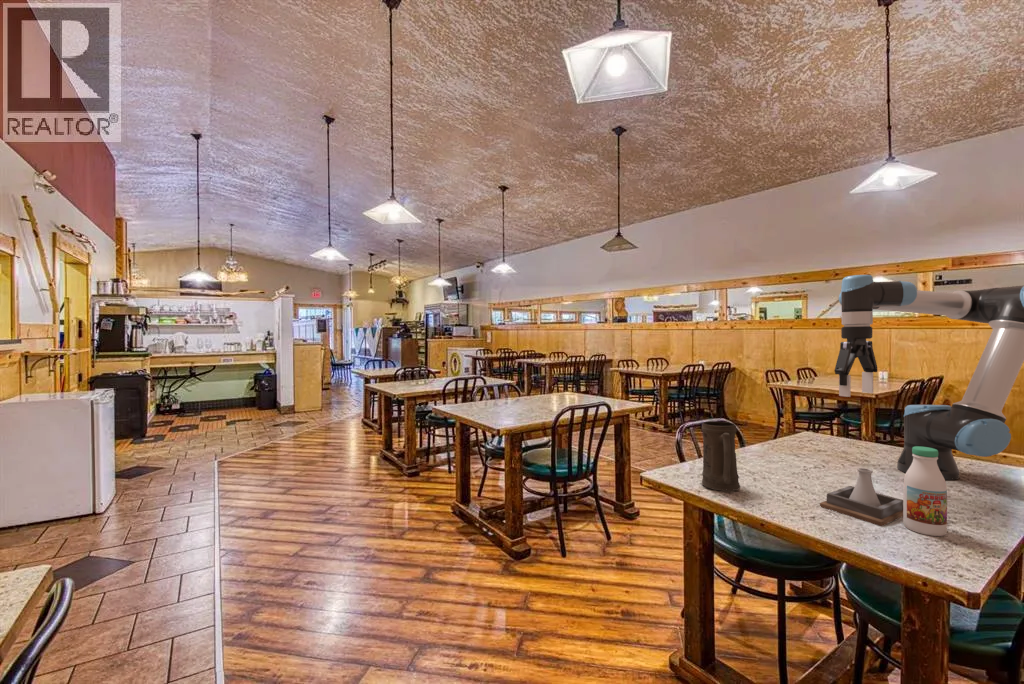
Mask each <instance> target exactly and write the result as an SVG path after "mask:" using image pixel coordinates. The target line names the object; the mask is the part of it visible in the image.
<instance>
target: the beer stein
mask: <svg viewBox="0 0 1024 684" xmlns="http://www.w3.org/2000/svg"><path fill="white" fill-rule="evenodd" d="M701 425H702V426H701V430H702V436H703V437H702V443H703V446H702V447H703V448H702V451H703V452H702V459H703V461H702V473H701V475H702V480H701V484H702V485H703V486H704V487H705V488H708V489H710V490H716V491H725V492H728V491H730V492H733V491H737V490H740V488H741V486H740V485H741V484H740V482H739V478H740V476H739V474H738V466H737V453H736V433H737V431H738V429H737V425H736V424H735V423H733V422H727V421H703V422H702V423H701Z"/></svg>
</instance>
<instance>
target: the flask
mask: <svg viewBox="0 0 1024 684" xmlns="http://www.w3.org/2000/svg"><path fill="white" fill-rule="evenodd" d="M857 471H858V477H857V481H856V484H855V485H854V486H853V487H854V490H853V492H852V493H851V495H850V497H849V499H852V500H855V501H858V502H862V503H865V504H869V505H872V506H876V507H879V506H881V504H880V502H879V500H878V497H877V495H876V493H877V492H876V490H875V488H874V484H873V480H872V474H873V473H874V472H873V469H870V468H866V467H857Z"/></svg>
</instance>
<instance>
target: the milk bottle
mask: <svg viewBox="0 0 1024 684" xmlns="http://www.w3.org/2000/svg"><path fill="white" fill-rule="evenodd" d="M912 453H913V454H912V456H913V462H912V464H911V466H910V467H909V469H908V470H907V472H906V473H905V474H904V479H903V490H902V492H903V495H902V496H903V497H902V498H903V499H902V500H903V517H902V518H903V519H902V521H903V526H904V527H905V528H906V529H907V530H911V531H913V532H915V533H917V534H918V533H919V534H922V535H926V536H933V537H934V536H935V537H943V536H945V535H947V531H948V489H947V482H946V480H945V479H944V477H943V475H942V473H941V472H940V470H939V467H938V465H937V459H938V450H936V449H933V448H929V447H921V446H915V447H913V448H912Z"/></svg>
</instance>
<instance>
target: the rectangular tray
mask: <svg viewBox="0 0 1024 684" xmlns="http://www.w3.org/2000/svg"><path fill="white" fill-rule="evenodd" d="M854 487H855V486H852V485H849V486H845V487H842V488H840V489H837V490H834V491H832V492H828V493H826V500H825V501H821V502H820V503H819V507H820V506H821V507H820V508H823V509H827V510H829V509H830V511H832V510H833V512H835V511H837V512H836V513H838V512H839V514H842V515H845V516H848V517H852V518H854V519H858V520H861V521H864V522H866V523H867V522H868V523H870V524H873V525H877V526H879V527H883V526H885V525H888V524H890V523H891V522H894V521H896V520H898V519H900V518H903V499H900V498H898V497H894V496H889V495H887V494H881V493H878V492H876V495H877V497H878V500H879V502H880V504H881V506H879V507H876V506H872V505H869V504H865V503H862V502H858V501H855V500H852V499H849V497H850V495H851V493H852V492H853V490H854Z"/></svg>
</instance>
